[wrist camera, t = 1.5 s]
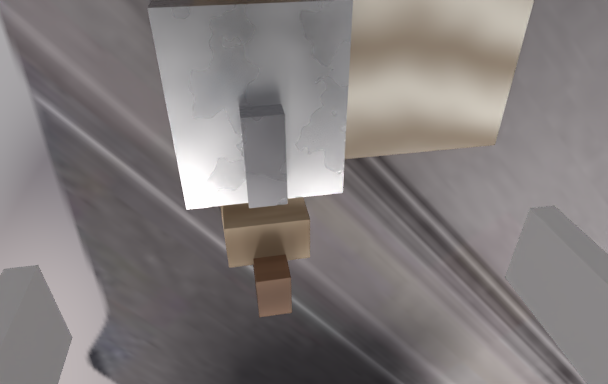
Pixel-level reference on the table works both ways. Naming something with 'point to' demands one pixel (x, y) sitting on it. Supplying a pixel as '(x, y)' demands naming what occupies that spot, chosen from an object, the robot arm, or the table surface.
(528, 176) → the table surface
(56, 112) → the table surface
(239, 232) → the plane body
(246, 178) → the white block with stub
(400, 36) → the ash board
